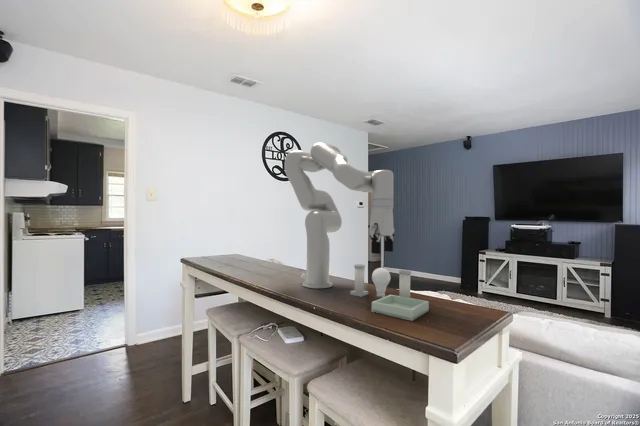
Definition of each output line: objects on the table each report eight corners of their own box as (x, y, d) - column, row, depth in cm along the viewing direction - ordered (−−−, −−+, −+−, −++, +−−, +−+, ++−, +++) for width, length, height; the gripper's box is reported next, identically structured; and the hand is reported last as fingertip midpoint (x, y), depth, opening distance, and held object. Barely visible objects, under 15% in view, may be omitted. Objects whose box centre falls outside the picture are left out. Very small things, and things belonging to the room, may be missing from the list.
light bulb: (390, 301, 110) (390, 269, 111) (370, 300, 112) (371, 268, 112) (390, 297, 117) (390, 267, 117) (371, 295, 118) (372, 266, 118)
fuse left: (349, 294, 120) (350, 265, 120) (357, 292, 124) (357, 263, 124) (361, 296, 117) (362, 266, 117) (368, 294, 120) (368, 265, 121)
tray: (371, 311, 98) (371, 301, 98) (390, 303, 108) (390, 294, 108) (412, 321, 90) (412, 310, 90) (428, 310, 100) (428, 301, 100)
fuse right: (394, 303, 108) (395, 271, 109) (400, 300, 112) (401, 269, 112) (408, 306, 105) (409, 272, 105) (414, 303, 109) (414, 271, 109)
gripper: (384, 205, 124) (384, 250, 123) (361, 203, 110) (360, 253, 110) (402, 205, 119) (402, 251, 119) (380, 203, 106) (380, 255, 105)
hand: (382, 252), depth 114 cm, fingers open, 9 cm apart
